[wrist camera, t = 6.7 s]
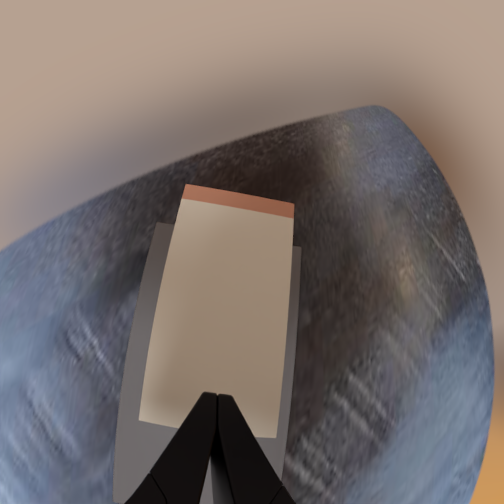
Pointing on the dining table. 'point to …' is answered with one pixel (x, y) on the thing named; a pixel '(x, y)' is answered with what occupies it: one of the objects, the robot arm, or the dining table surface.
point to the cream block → (222, 309)
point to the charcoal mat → (128, 424)
